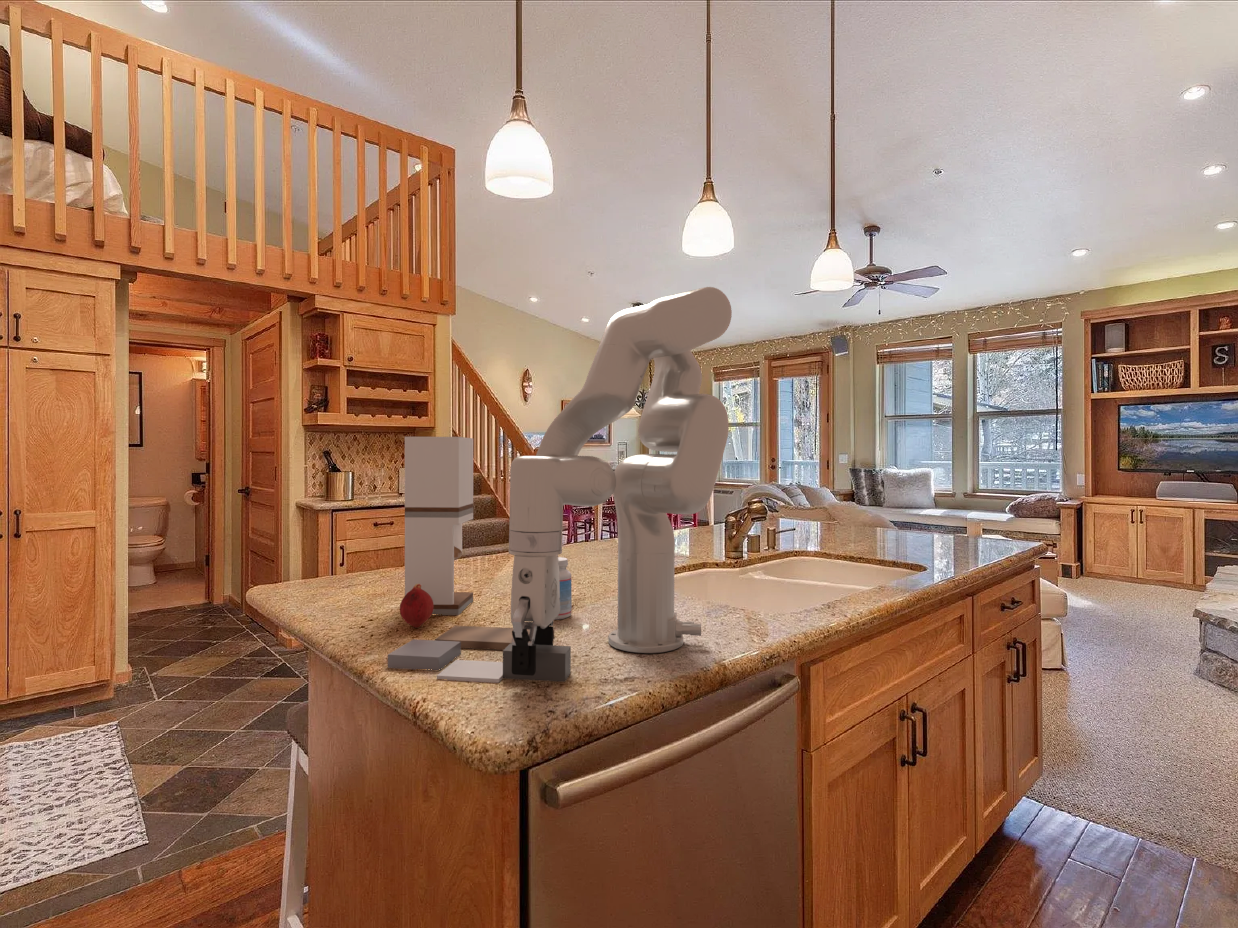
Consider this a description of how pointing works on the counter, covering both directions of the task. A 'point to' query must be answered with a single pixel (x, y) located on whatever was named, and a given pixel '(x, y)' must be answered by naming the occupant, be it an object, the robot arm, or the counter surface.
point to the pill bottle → (564, 589)
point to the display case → (437, 516)
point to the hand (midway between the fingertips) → (533, 663)
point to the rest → (480, 637)
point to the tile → (424, 654)
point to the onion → (416, 606)
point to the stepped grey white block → (549, 667)
